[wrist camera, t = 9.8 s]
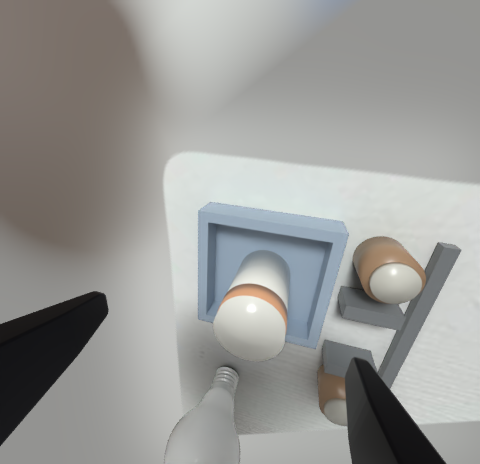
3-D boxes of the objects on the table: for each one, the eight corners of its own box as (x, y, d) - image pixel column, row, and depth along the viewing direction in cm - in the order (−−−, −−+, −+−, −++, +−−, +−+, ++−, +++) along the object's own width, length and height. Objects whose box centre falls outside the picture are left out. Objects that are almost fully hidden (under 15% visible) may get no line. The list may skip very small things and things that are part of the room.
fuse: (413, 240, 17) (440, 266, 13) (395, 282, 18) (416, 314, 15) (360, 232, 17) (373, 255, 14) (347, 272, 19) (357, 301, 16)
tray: (343, 221, 17) (348, 234, 15) (314, 327, 22) (315, 349, 19) (210, 202, 19) (198, 210, 17) (208, 301, 24) (198, 319, 21)
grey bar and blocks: (454, 244, 16) (479, 262, 14) (376, 401, 23) (384, 430, 21) (358, 230, 17) (366, 244, 15) (311, 383, 24) (312, 408, 22)
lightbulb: (241, 345, 25) (200, 483, 15) (265, 387, 26) (242, 537, 17) (194, 353, 27) (132, 476, 17) (218, 391, 29) (174, 524, 19)
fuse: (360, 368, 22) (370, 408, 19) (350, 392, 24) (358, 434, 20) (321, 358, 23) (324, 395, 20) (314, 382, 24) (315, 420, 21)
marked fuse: (295, 255, 19) (291, 314, 13) (286, 299, 21) (279, 370, 14) (241, 245, 20) (213, 295, 13) (237, 288, 22) (211, 350, 15)
